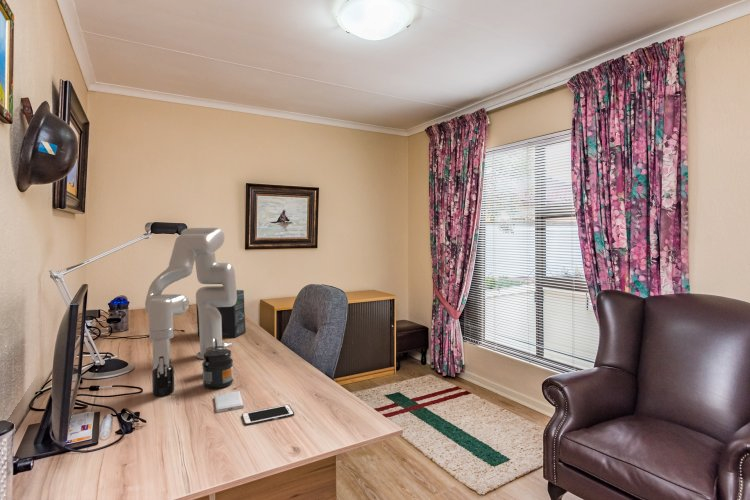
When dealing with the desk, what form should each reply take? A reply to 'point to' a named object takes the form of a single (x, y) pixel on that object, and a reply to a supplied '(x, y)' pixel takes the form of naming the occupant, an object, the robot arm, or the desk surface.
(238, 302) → the headset box
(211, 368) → the supplement container
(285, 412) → the cell phone
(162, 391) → the supplement bottle
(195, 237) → the robot arm
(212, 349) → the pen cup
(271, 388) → the desk surface
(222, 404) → the hard drive
